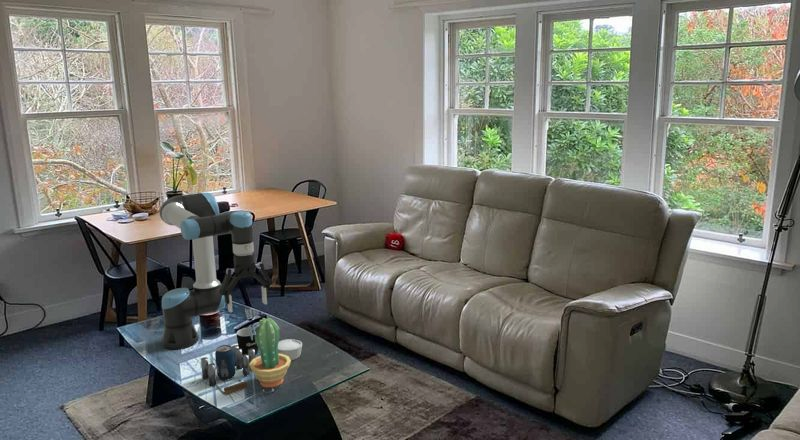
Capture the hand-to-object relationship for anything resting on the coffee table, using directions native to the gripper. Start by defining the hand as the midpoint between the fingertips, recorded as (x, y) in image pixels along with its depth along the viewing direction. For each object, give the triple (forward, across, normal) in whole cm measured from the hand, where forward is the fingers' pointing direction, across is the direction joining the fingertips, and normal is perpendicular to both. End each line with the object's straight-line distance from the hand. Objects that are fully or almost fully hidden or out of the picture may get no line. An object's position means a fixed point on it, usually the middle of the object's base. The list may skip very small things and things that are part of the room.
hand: (247, 307), depth 231 cm
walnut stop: (+28, -10, -8) cm, 31 cm away
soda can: (+28, -9, +5) cm, 30 cm away
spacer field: (+28, -7, +7) cm, 30 cm away
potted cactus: (+28, +4, -9) cm, 30 cm away
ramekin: (+28, +19, +7) cm, 35 cm away
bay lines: (+28, -10, -3) cm, 30 cm away
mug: (+28, +8, +19) cm, 35 cm away
